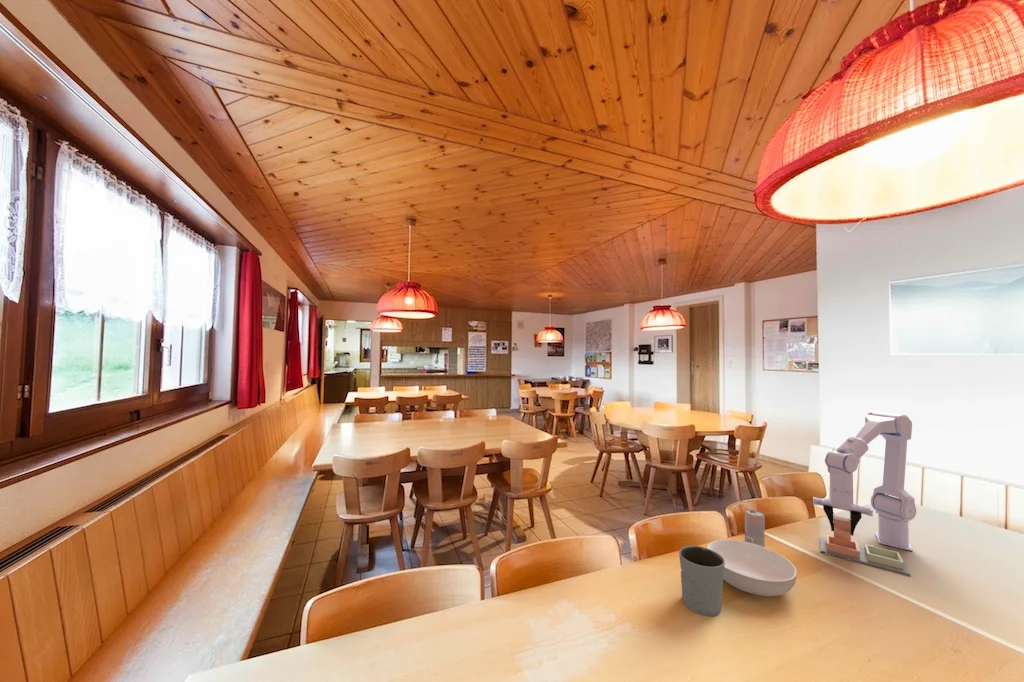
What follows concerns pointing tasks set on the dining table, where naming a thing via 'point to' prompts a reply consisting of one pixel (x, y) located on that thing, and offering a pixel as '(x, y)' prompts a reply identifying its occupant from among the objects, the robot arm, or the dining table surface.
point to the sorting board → (864, 554)
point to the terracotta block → (842, 528)
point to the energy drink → (755, 527)
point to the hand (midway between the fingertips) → (841, 532)
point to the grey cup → (702, 579)
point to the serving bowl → (755, 568)
